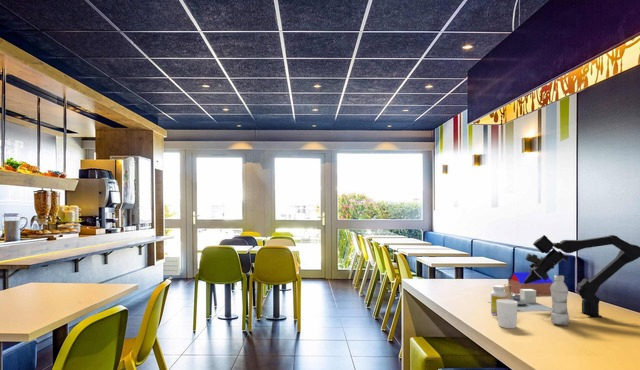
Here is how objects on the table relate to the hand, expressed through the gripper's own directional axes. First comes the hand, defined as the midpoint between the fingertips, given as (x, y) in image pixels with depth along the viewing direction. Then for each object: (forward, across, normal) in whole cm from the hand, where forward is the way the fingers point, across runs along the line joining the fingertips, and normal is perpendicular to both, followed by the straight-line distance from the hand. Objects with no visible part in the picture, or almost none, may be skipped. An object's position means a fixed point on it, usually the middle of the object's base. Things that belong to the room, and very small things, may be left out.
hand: (524, 283), depth 201 cm
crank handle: (+11, -5, +5) cm, 13 cm away
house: (+3, -48, +15) cm, 50 cm away
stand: (+10, -4, +8) cm, 13 cm away
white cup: (+16, +32, +2) cm, 36 cm away
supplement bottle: (+18, +14, 0) cm, 23 cm away
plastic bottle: (+2, +22, +16) cm, 28 cm away
